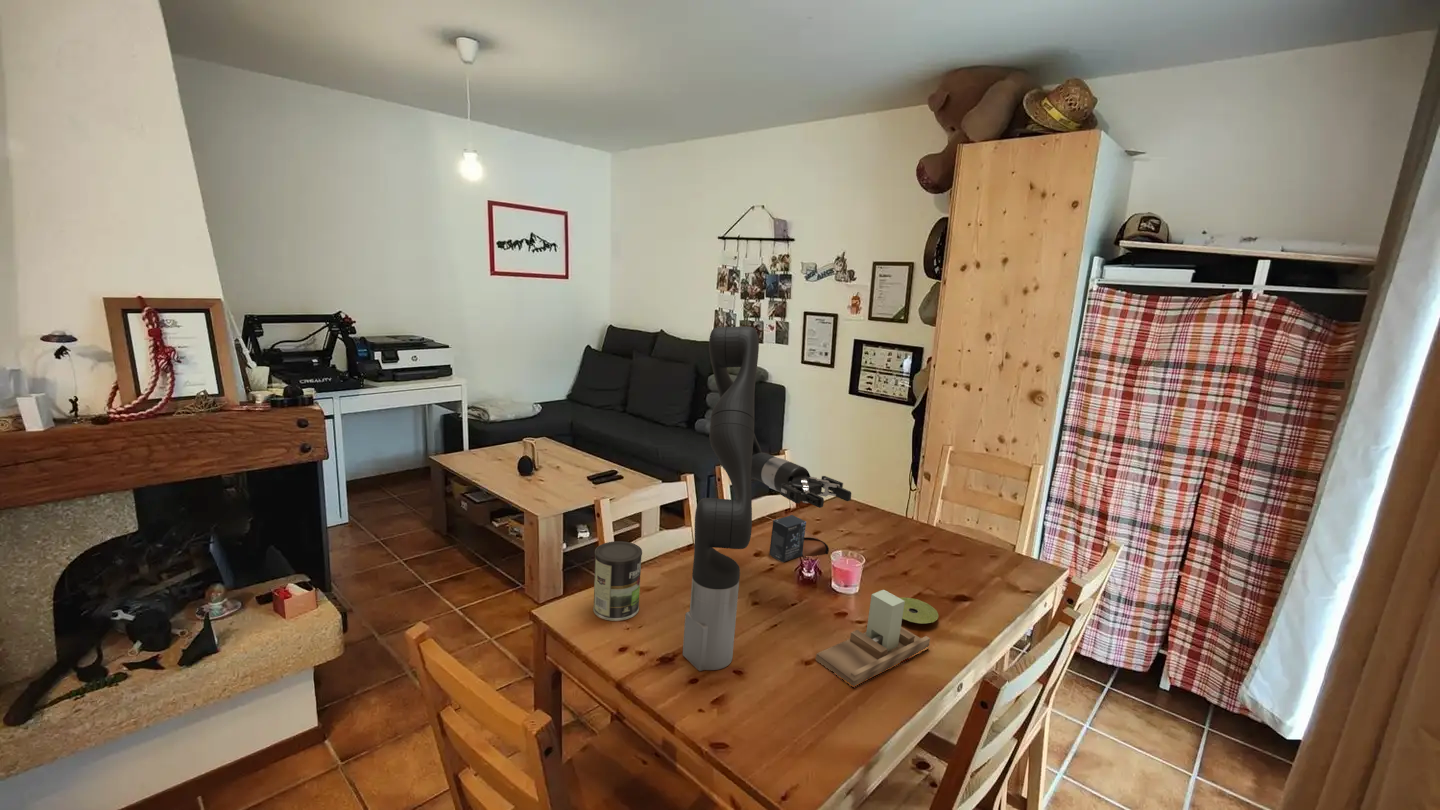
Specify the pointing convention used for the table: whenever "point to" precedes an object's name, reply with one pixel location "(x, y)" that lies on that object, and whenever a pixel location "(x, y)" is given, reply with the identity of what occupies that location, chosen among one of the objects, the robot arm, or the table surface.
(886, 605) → the clip
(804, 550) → the sunglasses case
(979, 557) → the table surface
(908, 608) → the green washer
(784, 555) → the box
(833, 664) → the wooden socket base
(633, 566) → the coffee can
